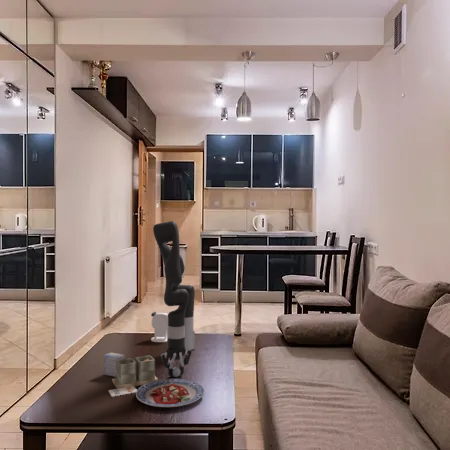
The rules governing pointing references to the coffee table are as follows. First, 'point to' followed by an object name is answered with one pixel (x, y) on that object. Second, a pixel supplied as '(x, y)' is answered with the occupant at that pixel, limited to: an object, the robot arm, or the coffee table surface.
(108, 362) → the medicine box
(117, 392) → the card
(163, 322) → the white bear shaped stand
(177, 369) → the grey ball
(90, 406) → the coffee table surface
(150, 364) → the tube stand
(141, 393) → the ceramic plate
